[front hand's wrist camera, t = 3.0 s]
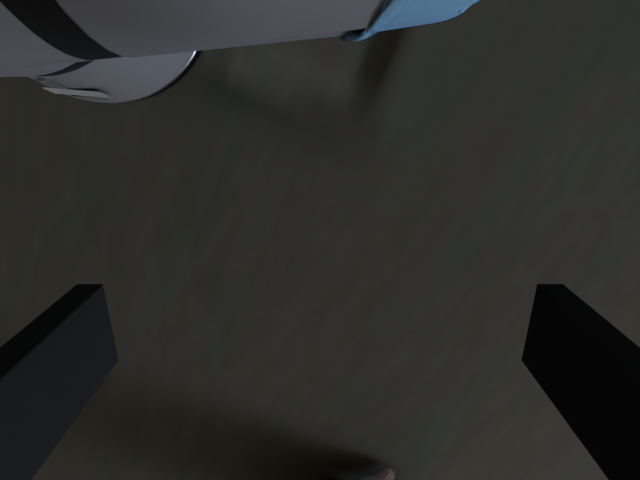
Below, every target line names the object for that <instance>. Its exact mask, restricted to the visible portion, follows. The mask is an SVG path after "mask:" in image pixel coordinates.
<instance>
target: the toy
mask: <svg viewBox="0 0 640 480" xmlns="http://www.w3.org/2000/svg"><path fill="white" fill-rule="evenodd" d="M394 478H395V473H394V470H393V471H391V469H388V468H385V469H384V470H383V471H382V472H381V473H379V474H376V475H372V476H368V477H365V478H362V479H360V480H394Z"/></svg>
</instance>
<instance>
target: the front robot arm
mask: <svg viewBox="0 0 640 480" xmlns="http://www.w3.org/2000/svg"><path fill="white" fill-rule="evenodd" d="M478 1H479V0H0V77H29V78H31V79H33V80H35V81H37V82H40V83H41V84H43V85H45V86H47V87H49V88H44V89H46V90H48V91H50V92H53V93H55V94H65V95H68V96H71V97H74V98H78V99H81V100H86V101H91V102H97V103H125V102H132V101H138V100H142V99H146V98H149V97H152V96H155V95H157V94H159V93H161V92H163V91H165V90H167V89H168V88H170V87H171V86H173V85H174V84H175V83H177V82H178V81H179V80H180V79H181V78H182V77H183V76H184V75H185V74H186V73H187V72H188V71H189V70H190V69H191V67H192V66H193V65H194V63H195V62H196V60H197V59H198V57H199V55H200V53H201V52H202V50H210V49H220V48H229V47H239V46H249V45H258V44H268V43H277V42H287V41H296V40H306V39H316V38H325V37H335V36H339V37H340V38H341V40H343V41H360V40H363V39H366V38H368V37H370V36H372V35H374V34H375V33H377V32H378V31H384V30H391V29H398V28H404V27H411V26H417V25H424V24H430V23H436V22H441V21H444V20H448V19H450V18H452V17H455V16H457V15H459V14H461V13H462V12H464V11H465V10H466V9H467V8H468V7H470V6H471V5H472V4H474V3H476V2H478ZM41 88H43V87H41ZM117 361H118V356H117V351H116V346H115V342H114V337H113V332H112V327H111V322H110V318H109V313H108V308H107V303H106V298H105V294H104V289H103V284H77V285H76V286H74V287H73V288H72V289H71V290H70V291H68V292H67V293H66V294H65V295H64V296H62V297H61V298H60V299H59V300H58V301H56V302H55V303H54V304H53V305H51V306H50V307H49V308H48V309H47V310H45V311H44V312H43V313H42V314H41V315H39V316H38V317H37V318H36V319H34V320H33V321H32V322H31V323H30V324H28V325H27V326H26V327H25V328H24V329H22V330H21V331H20V332H19V333H18V334H16V335H15V336H14V337H13V338H11V339H10V340H9V341H8V342H7V343H5V344H4V345H3V346H2V347H1V348H0V480H31V479H32V478H33V477H34V475H35V474H36V472H37V471H38V470H39V468H40V467H41V466H42V464H43V463H44V462H45V460H46V459H47V457H48V456H49V455H50V453H51V452H52V451H53V449H54V448H55V446H56V445H57V444H58V442H59V441H60V440H61V438H62V437H63V435H64V434H65V433H66V431H67V430H68V429H69V427H70V426H71V425H72V423H73V422H74V420H75V419H76V418H77V416H78V415H79V414H80V412H81V411H82V409H83V408H84V407H85V405H86V404H87V403H88V401H89V400H90V398H91V397H92V396H93V394H94V393H95V392H96V390H97V389H98V387H99V386H100V385H101V383H102V382H103V381H104V379H105V378H106V377H107V375H108V374H109V372H110V371H111V370H112V368H113V367H114V366H115V364H116V363H117ZM522 361H523V363H524V364H525V366H526V367H527V368H528V370H529V371H530V372H531V374H532V375H533V377H534V378H535V379H536V381H537V382H538V383H539V385H540V386H541V387H542V389H543V390H544V392H545V393H546V394H547V396H548V397H549V398H550V400H551V401H552V403H553V404H554V405H555V407H556V408H557V409H558V411H559V412H560V414H561V415H562V416H563V418H564V419H565V420H566V422H567V423H568V425H569V426H570V427H571V429H572V430H573V431H574V433H575V434H576V435H577V437H578V438H579V440H580V441H581V442H582V444H583V445H584V446H585V448H586V449H587V451H588V452H589V453H590V455H591V456H592V457H593V459H594V460H595V462H596V463H597V464H598V466H599V467H600V468H601V470H602V471H603V472H604V474H605V475H606V477H607V478H608V479H609V480H640V348H639V347H638V346H637V345H636V344H635V343H633V342H632V341H631V340H630V339H629V338H627V337H626V336H625V335H624V334H622V333H621V332H620V331H619V330H618V329H616V328H615V327H614V326H613V325H612V324H610V323H609V322H608V321H607V320H606V319H604V318H603V317H602V316H601V315H599V314H598V313H597V312H596V311H595V310H593V309H592V308H591V307H590V306H589V305H587V304H586V303H585V302H584V301H582V300H581V299H580V298H579V297H578V296H576V295H575V294H574V293H573V292H572V291H570V290H569V289H568V288H567V287H566V286H564V285H563V284H537V289H536V294H535V298H534V303H533V308H532V313H531V318H530V322H529V327H528V332H527V337H526V342H525V346H524V351H523V356H522Z"/></svg>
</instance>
